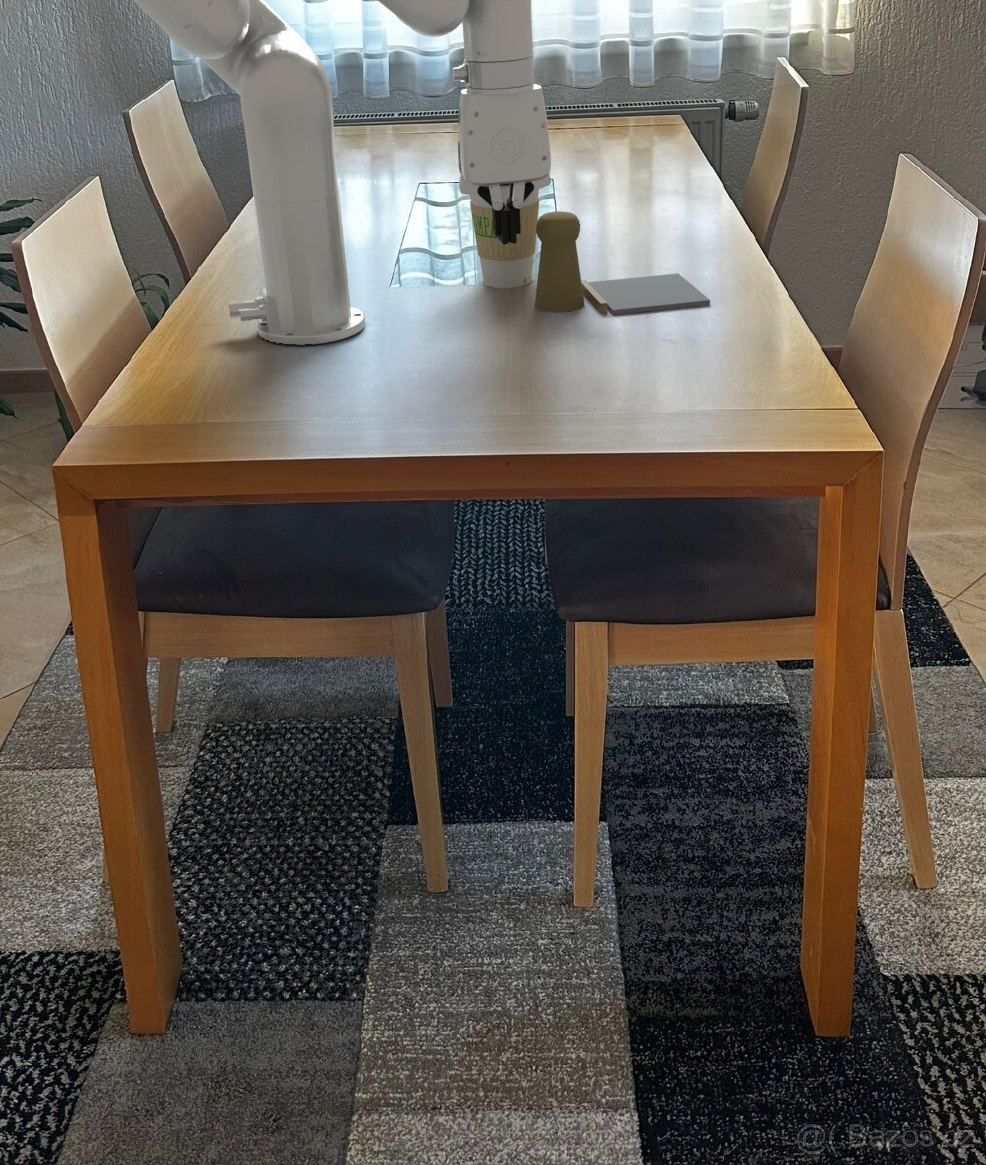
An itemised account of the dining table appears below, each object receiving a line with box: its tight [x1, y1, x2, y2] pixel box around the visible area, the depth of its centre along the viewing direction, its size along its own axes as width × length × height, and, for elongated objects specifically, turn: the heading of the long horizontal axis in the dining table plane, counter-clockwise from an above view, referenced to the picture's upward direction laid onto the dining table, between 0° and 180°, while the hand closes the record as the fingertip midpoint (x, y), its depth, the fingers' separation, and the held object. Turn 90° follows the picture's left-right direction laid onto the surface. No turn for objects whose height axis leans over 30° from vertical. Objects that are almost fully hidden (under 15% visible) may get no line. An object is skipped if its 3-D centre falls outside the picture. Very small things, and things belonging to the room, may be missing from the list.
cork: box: [534, 210, 585, 313], centre depth 154 cm, size 6×6×11 cm
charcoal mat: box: [587, 272, 711, 316], centre depth 158 cm, size 12×12×1 cm
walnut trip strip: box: [581, 279, 608, 314], centre depth 157 cm, size 1×10×1 cm, turn 11°
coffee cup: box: [469, 183, 540, 289], centre depth 162 cm, size 10×10×15 cm
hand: (507, 240), depth 151 cm, fingers closed
